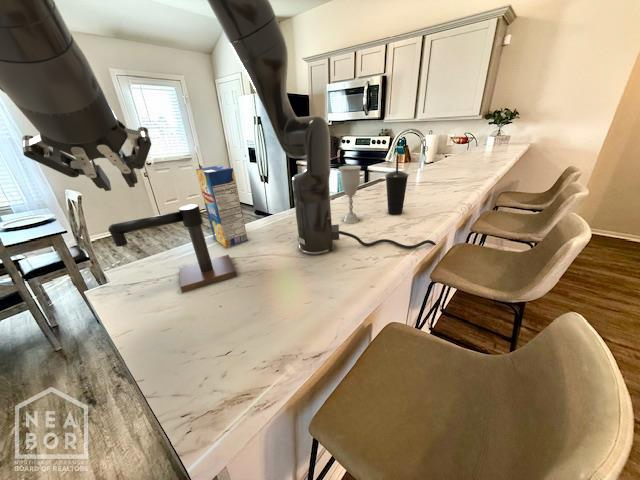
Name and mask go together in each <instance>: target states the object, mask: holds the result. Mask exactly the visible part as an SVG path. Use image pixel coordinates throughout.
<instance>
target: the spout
mask: <svg viewBox="0 0 640 480" xmlns="http://www.w3.org/2000/svg"><path fill="white" fill-rule="evenodd" d="M180 222H181V223H182V224H183V227H184V228H188V227H195V226H199V225H201V226H202V225H203V223H204V220H203V216H202V213H201V208H200V205H199V204H187V205H183V206H181V207H179V208H178V211H174V212H169V213H165V214H159V215H154V216H149V217H143V218H138V219H133V220H128V221H121V222H117V223H112V224H110V225H109V226H108V228H107V229H108V230H107V231H108V232H109V234H110V236H111V238H112V240H113V243H114V245H115V246H116V247H117V248H120V247H124V246H127V245H128V240H127V238H126V235H125V234H128V233H133V232H138V231H143V230H148V229H152V228H158V227H162V226H166V225H171V224H177V223H180Z"/></svg>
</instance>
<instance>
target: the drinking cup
mask: <svg viewBox="0 0 640 480" xmlns="http://www.w3.org/2000/svg"><path fill="white" fill-rule="evenodd" d="M399 159H400V154H397V155H396V160H395V161H396V162H395V170H393V171H389V172H388V173H386V174H385V175H384V177H385V182H386V201H387V214H388V215H390V216H400V215H402V214H403V210H404V204H405V203H404V202H405V198H406V197H405V196H406V190H407V183H408V178H409V175H410V174H408V173H406V172H404V171H401V170H399Z"/></svg>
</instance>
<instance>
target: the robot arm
mask: <svg viewBox="0 0 640 480" xmlns="http://www.w3.org/2000/svg"><path fill="white" fill-rule="evenodd" d="M206 1H207V2H208V4H209V6H210V8H211V10H212V12H213V14H214V16H215V17H216V19H217V22H218V24H219V25H220V27H221V30H222V31H223V33H224V35H225V37H226V40H227V41H228V43H229V45H230V47H231V50H233V52H234V55H235V57H236V58H237V60H238V62H239V63H240V65H241V67H242V69H243V70H244V72H245V74H246V75H247V77H248V79H249V81H250V83H251V85H252V87H253V89H254V91H255V93H256V95H257V97H258V99H259V101H260V102H261V103H260V104H261V105H262V107H263V109H264V111H265V113H266V115H267V118H268V120H269V122H270V124H271V128H272V129H273V132H274V134H275V137H276V139H277V141H278V144H279V145H280V148H281V149H282V151H283V153H285V154H286V156H288V157H289V158H292V159H295V160H296V159H297V160H306V166H305V167H306V168H305V169H304V170H303V171H301V172H299V173H296V174H294V176H293V177H292V178H291V181H292V182H291V185H292V190H293V192H292V193H293V201H294V210H295V218H296V226H297V234H298V236H297V237H296V238H297V242H298V244H299V246H298V248H299V251H300V252H301V253H303V254H306V255H311V256H316V255H317V256H318V255H323V254H327V253H329V252H333V251H334V241H340V235H343V236H346V237H349V238H352V239H355V241H357V242H358V243H359V245H361V246H364V247H372V246H375V245H378V244H381V243H388V244H392V245H394V246H396V247H399V248H402V249H406V250H407V249H408V250H411V249H417V248H419V247H422V246H424V245H426V244H430V245H432V246H437V243H436V242H435V241H434V240H431V239H426V240H422V241H420V242H418V243H416V244H413V245H406V244H402V243H400V242H397V241H395V240H392V239H387V238H382V239H377V240H375V241H372V242H364V241H363V240H362V239H361V238H360V237H359V236H356V235H355V234H353V233H349V232H347V231H342V230H340V225H339V224H333V221H332V220H333V219H332V208H331V193H330V176H331V134H330V133H331V132H330V128H329V125H328V123H327V121H326V120H325V118H324V117H323V116H320V115H310V116H309V115H308V116H299V117H298V116H297V115H296V114H295V112H294V110H293V108H292V105H291V103H290V99H289V97H288V93H287V92H288V91H287V81H288V68H289V51H288V45H287V42H286V39H285V36H284V34H283V31H282V28H281V26H280V23H279V21H278V18H277V16H276V13H275V11H274V8H273V5H272V4H271V2H270V0H206ZM0 91H2V92H3V93H4V94H6V95H7V97H8V98H9V99H10V100H11V101H12V102H13V104H14V105H15V106H16V107H17V108H18V110H20V112H21V113H22V114H23V115H24V117H26V119H27V120H28V121H29V122H30V124H32V126H33V127H34V128H35V129H36V131H38V133H39V135H36V136H33V135H29V134H26V135H23V136H22V137H21V139H22V154H23V156H24V157H26V158H28V159H30V160H33V161H34V162H37V163H39V164H41V165H43V166H45V167H48V168H50V169H52V170H55V171H56V172H58V173H60V174H63V175H65V176H67V177H69V178H78V177H79V176H85V177H86V178H89V179H90V180H91V181H92V182H93V184H94V185H95V186H96V187H97V188H98V189H103V190H104V191H105V192H110V191H112V185H111V181H110V179H109V176H108V175H107V174H106V173H105V171H104V170H103V168H102V167H101V166H100V164H96V161H95V160H97V159H106V160H108V162H109V163H111V164H112V166H114V167H116V168H117V169H118V170H119V171H120V175H121V176H122V177H123V179H124V181H125V183H126V184H127V186H128V188H135V187H136V184H138V182H139V181H138V180H139V179H138V176H137V172H136V171H135V169H136V170H143V169H144V167H145V165H146V162H147V159H148V156H149V153H150V150H151V147H152V141H151V137H150V136H151V135H150V133H149V129H148V128H147V127H144V126H140V127H138V128H137V130H136V129H132V128H127V126H126V125H125V123H123V122H121V121H120V120H119V119H118V118H117V117H116V115H115V113H114V111H113V109H112V107H111V105H110V103H109V100H108V99H107V96H106V95H105V93H104V91H103V88H102V87H101V84H100V82H99V81H98V79H97V76H96V75H95V73H94V71H93V68H92V67H91V64H90V63H89V61H88V59H87V57H86V55H85V54H84V52H83V50H82V49H81V48H80V46H79V44H78V43H77V41H76V40H75V38H74V37H73V35H72V33H71V32H70V30H69V28H68V25H67V24H66V22H65V20H64V18H63V16H62V14H61V12H60V10H59V7H58V6H57V4H56V2H55V0H0ZM127 140H129V141H130V143H131V145H132V148H131V151H130V154H129V155H127V154H126V153H125V152H124V150H123V149H122V148H123V146H124V144H125V143H126V141H127Z"/></svg>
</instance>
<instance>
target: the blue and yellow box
mask: <svg viewBox="0 0 640 480" xmlns="http://www.w3.org/2000/svg"><path fill="white" fill-rule="evenodd" d="M195 172H196V176H197V180H198V184H199V187H200V191H201V194H202V199H203V203H204V206H205V210H206V214H207V217H208V222H209V226H210V229H211V232H212V236H213V239H215V241H216V242H217V243H220V244H221V245H222V246H224V247H225V248H231V247H233V246H237V245H239V244H242V243H245V242H248V241H249V238H248V235H247V229H246V224H245V220H244V215H243V209H242V206H241V201H240V195H239V191H238V186H237V181H236V177H235V171H234V168H233V167H229V166H223V165H214V166H208V167H202V168H201V167H200V168H196V169H195ZM215 234H216V235H215Z"/></svg>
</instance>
